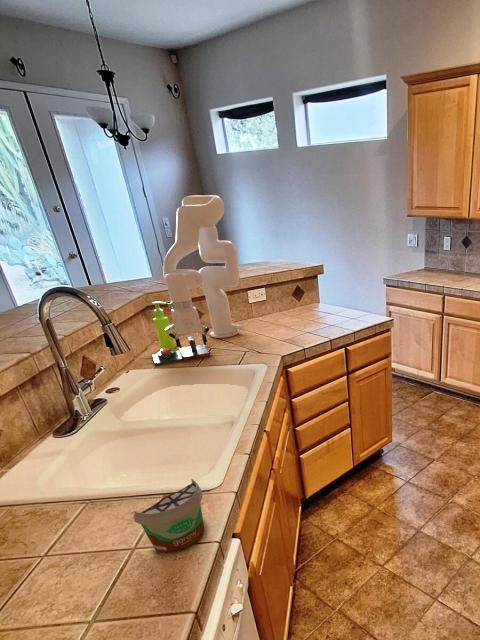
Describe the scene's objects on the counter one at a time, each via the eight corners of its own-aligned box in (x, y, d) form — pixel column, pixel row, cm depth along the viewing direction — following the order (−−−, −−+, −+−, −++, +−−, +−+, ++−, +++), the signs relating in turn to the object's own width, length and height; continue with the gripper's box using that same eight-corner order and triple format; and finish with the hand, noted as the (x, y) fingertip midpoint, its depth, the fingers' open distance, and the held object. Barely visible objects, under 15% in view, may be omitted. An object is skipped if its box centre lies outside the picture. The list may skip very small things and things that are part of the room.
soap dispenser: (174, 349, 189) (161, 303, 180) (158, 349, 189) (145, 303, 180) (180, 345, 194) (168, 300, 185) (165, 345, 195) (153, 300, 185)
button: (170, 351, 178) (169, 347, 177) (171, 353, 175) (170, 349, 175) (160, 353, 177) (159, 349, 176) (161, 355, 174) (160, 351, 173)
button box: (179, 353, 184) (177, 346, 183) (182, 361, 175) (180, 354, 173) (153, 357, 179) (151, 350, 178) (155, 365, 170) (153, 358, 169)
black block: (197, 351, 180) (194, 339, 177) (192, 352, 179) (189, 340, 176) (195, 348, 183) (192, 336, 181) (190, 349, 182) (187, 337, 180)
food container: (167, 568, 76) (151, 524, 71) (147, 555, 79) (131, 512, 74) (225, 527, 85) (214, 487, 81) (205, 517, 88) (193, 477, 84)
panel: (204, 348, 190) (203, 343, 188) (210, 357, 179) (209, 352, 178) (180, 352, 185) (178, 347, 184) (184, 361, 174) (183, 356, 173)
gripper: (159, 309, 165) (171, 352, 173) (206, 303, 173) (216, 344, 181) (157, 306, 171) (169, 347, 179) (203, 300, 179) (212, 340, 187)
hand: (192, 346), depth 180 cm, fingers open, 9 cm apart
